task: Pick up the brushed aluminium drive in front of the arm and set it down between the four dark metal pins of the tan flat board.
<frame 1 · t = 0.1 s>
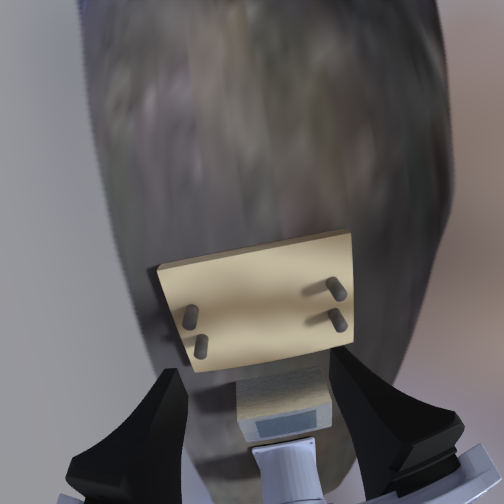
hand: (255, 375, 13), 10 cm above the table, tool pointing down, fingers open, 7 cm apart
tan flat board: (263, 304, 23), on the table
drive: (279, 386, 26), on the table
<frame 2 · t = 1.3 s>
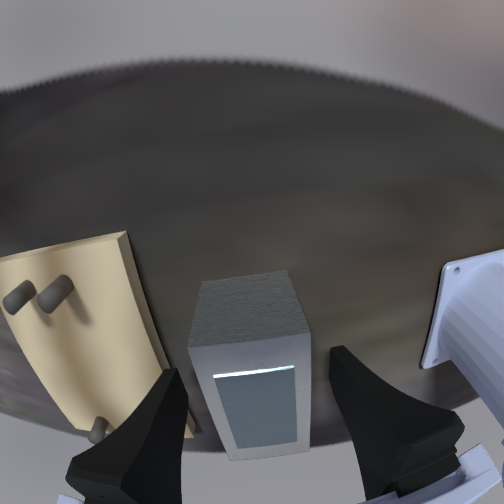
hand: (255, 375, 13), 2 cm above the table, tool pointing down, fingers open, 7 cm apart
tan flat board: (90, 354, 15), on the table
drive: (254, 342, 15), on the table
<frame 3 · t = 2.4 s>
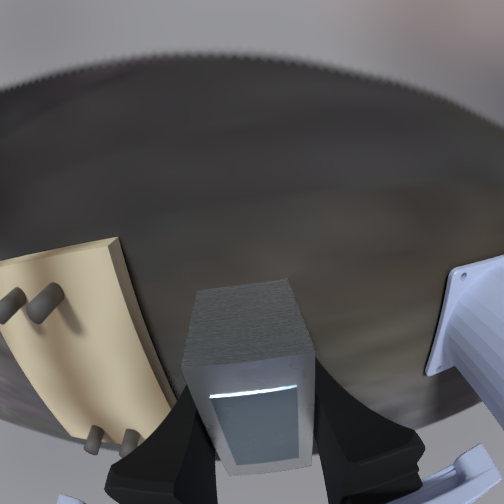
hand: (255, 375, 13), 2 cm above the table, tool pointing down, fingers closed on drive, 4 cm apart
tan flat board: (84, 363, 14), on the table
drive: (253, 353, 14), on the table, touching gripper
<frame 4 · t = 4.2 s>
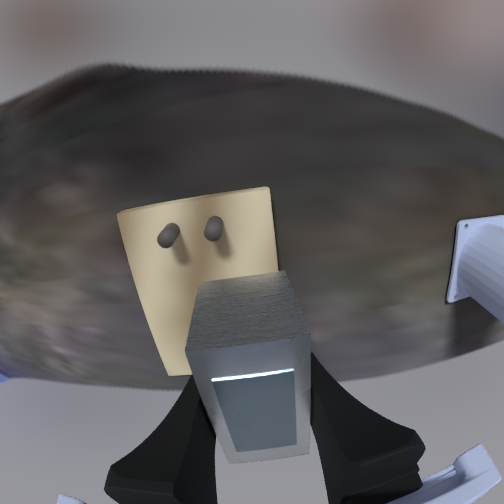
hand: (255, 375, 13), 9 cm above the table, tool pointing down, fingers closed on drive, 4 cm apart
tan flat board: (209, 292, 21), on the table
drive: (252, 344, 15), point 7 cm above the table, touching gripper
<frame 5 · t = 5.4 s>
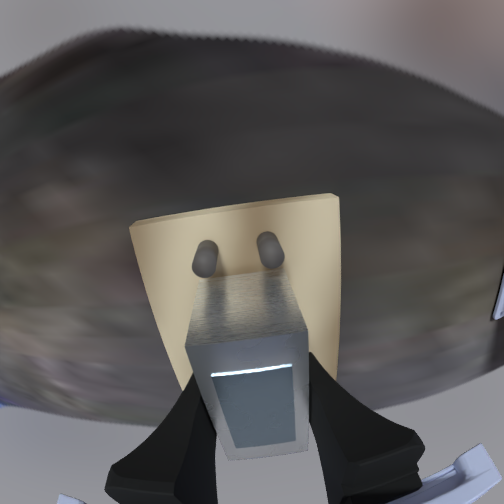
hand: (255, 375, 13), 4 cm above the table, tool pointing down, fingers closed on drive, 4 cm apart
tan flat board: (250, 324, 17), on the table
drive: (252, 341, 15), point 2 cm above the table, touching gripper
when the fingers open (4 cm above the table, at t = 6.1 s): drive stays where it is, resting on tan flat board.
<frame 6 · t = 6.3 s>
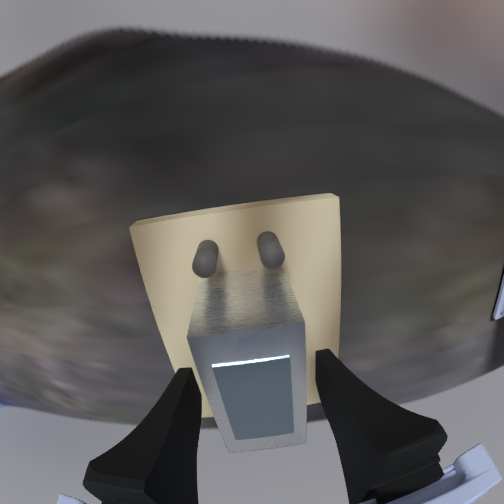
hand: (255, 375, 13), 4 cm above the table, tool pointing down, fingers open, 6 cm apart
tan flat board: (250, 324, 17), on the table
drive: (251, 335, 15), point 1 cm above the table, touching tan flat board
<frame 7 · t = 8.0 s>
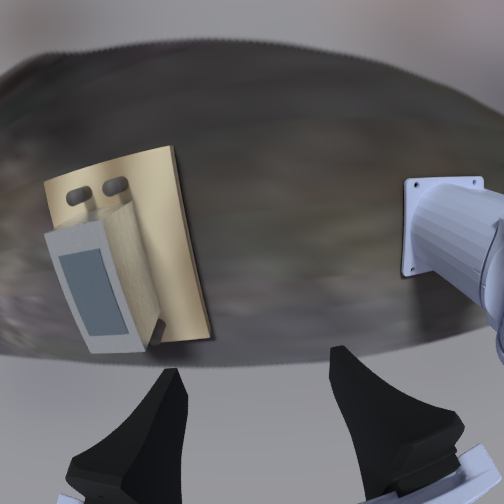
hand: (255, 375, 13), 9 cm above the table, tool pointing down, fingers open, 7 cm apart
tan flat board: (127, 256, 20), on the table
drive: (121, 261, 19), point 1 cm above the table, touching tan flat board
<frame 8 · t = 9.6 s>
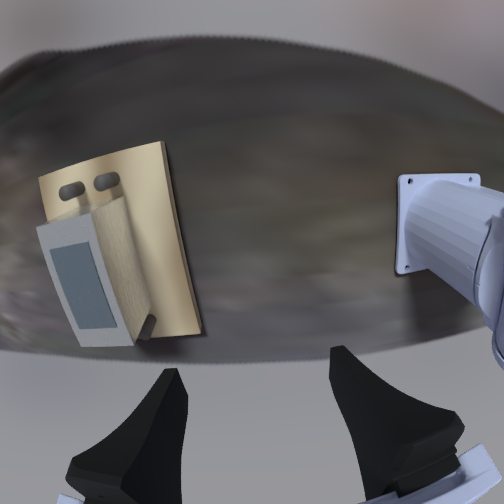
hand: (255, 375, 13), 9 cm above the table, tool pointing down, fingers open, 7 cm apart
tan flat board: (119, 251, 20), on the table
drive: (112, 256, 19), point 1 cm above the table, touching tan flat board
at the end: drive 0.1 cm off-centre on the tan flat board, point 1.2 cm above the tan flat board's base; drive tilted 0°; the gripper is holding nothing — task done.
